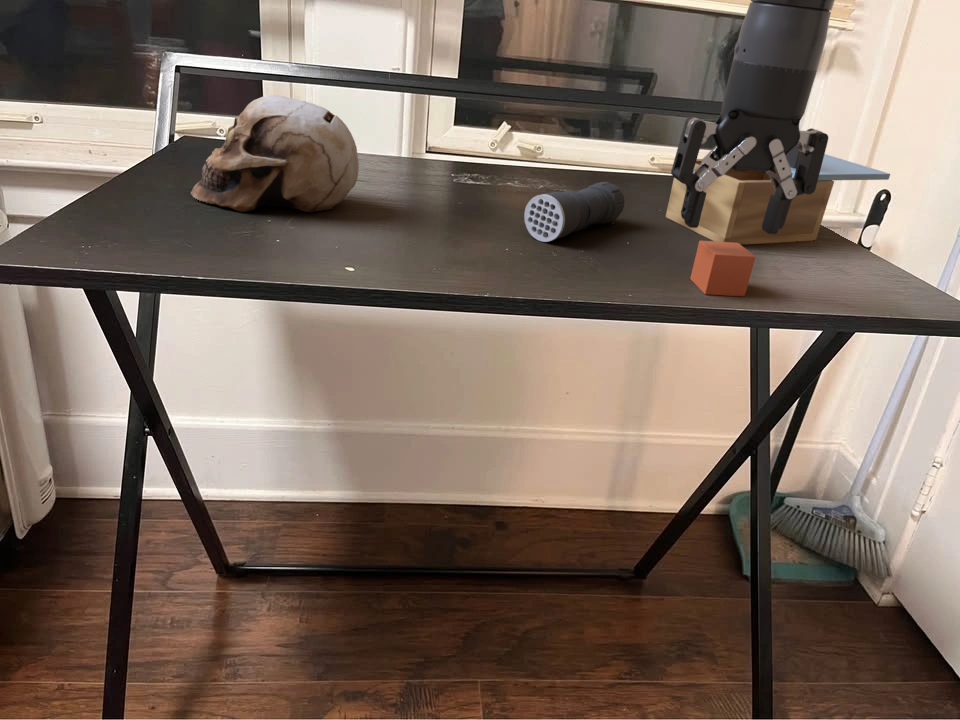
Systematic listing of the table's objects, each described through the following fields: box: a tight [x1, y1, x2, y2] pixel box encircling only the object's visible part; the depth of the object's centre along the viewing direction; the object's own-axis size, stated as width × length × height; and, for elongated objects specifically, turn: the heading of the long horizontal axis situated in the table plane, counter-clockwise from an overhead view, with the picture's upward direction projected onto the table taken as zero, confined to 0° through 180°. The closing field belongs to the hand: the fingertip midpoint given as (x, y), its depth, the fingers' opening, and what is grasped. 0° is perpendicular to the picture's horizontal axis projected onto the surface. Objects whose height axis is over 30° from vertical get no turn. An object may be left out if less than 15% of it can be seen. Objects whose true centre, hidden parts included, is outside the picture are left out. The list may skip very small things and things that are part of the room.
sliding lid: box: [785, 143, 891, 181], centre depth 101 cm, size 12×16×5 cm
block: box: [689, 240, 756, 297], centre depth 78 cm, size 4×4×4 cm
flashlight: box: [523, 181, 625, 243], centre depth 92 cm, size 15×5×5 cm, turn 140°
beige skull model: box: [190, 94, 360, 213], centre depth 89 cm, size 16×17×13 cm
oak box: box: [665, 158, 835, 246], centre depth 99 cm, size 12×16×8 cm
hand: (730, 228), depth 76 cm, fingers open, 8 cm apart
